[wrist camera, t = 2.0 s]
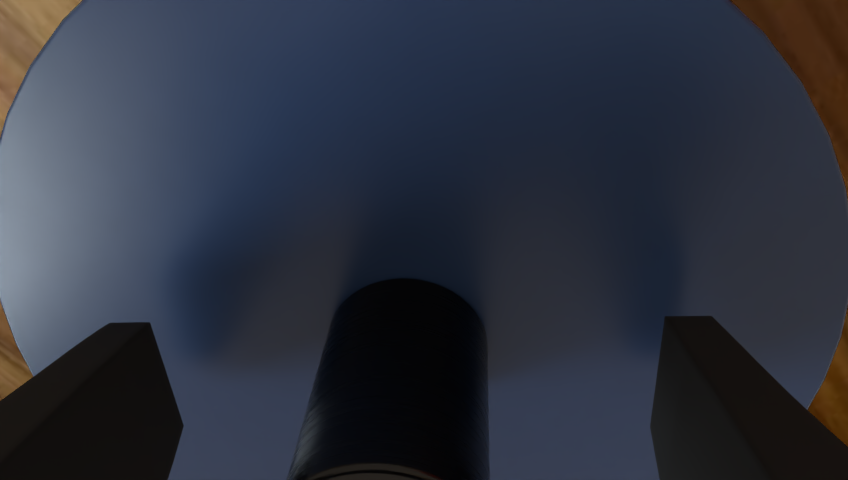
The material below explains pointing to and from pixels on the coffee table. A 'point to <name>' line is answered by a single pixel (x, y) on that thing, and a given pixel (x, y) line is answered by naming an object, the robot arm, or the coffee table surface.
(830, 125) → the coffee table surface
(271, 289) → the lid
